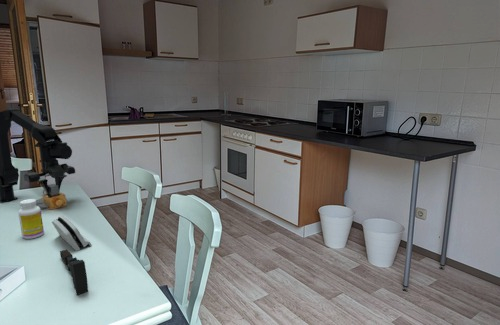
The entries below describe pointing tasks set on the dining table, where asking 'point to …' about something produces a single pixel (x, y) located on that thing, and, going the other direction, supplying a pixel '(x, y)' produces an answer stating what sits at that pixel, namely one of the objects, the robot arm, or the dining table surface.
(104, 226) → the dining table surface
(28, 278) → the dining table surface
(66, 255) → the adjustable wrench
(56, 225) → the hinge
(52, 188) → the tall grey box
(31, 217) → the supplement bottle
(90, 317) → the dining table surface
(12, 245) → the dining table surface
